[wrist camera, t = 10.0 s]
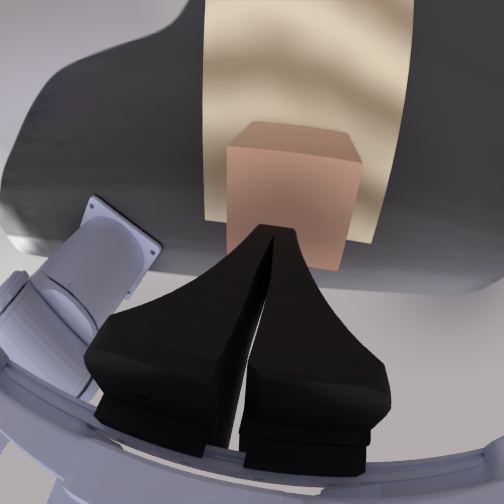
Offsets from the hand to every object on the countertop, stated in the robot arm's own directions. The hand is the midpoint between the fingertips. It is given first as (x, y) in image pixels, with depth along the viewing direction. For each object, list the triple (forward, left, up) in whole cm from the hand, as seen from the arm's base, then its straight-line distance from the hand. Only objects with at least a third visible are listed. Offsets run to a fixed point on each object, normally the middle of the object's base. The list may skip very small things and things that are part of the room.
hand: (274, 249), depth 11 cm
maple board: (+5, +3, -10) cm, 11 cm away
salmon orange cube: (0, 0, -8) cm, 8 cm away
